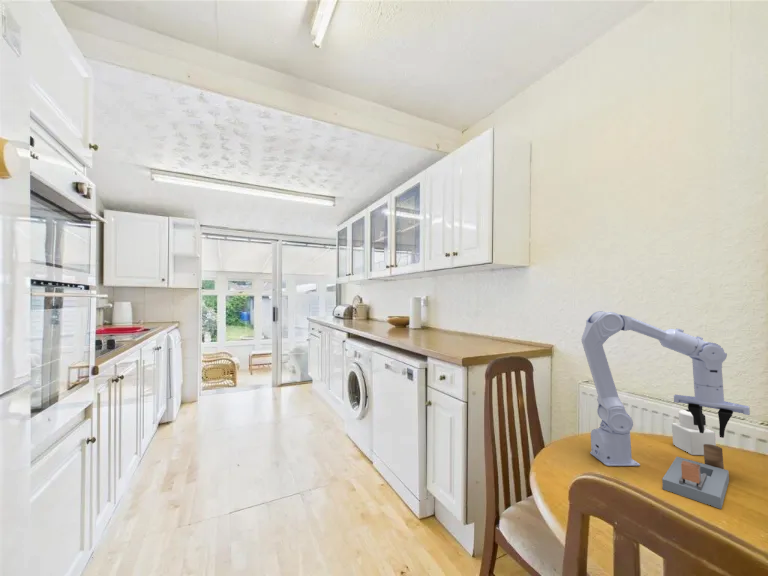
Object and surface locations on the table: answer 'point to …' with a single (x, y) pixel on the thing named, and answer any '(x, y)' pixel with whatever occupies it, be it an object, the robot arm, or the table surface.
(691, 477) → the bar
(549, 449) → the table surface
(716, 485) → the mount board
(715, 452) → the brown wooden block
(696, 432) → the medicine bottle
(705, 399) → the robot arm
